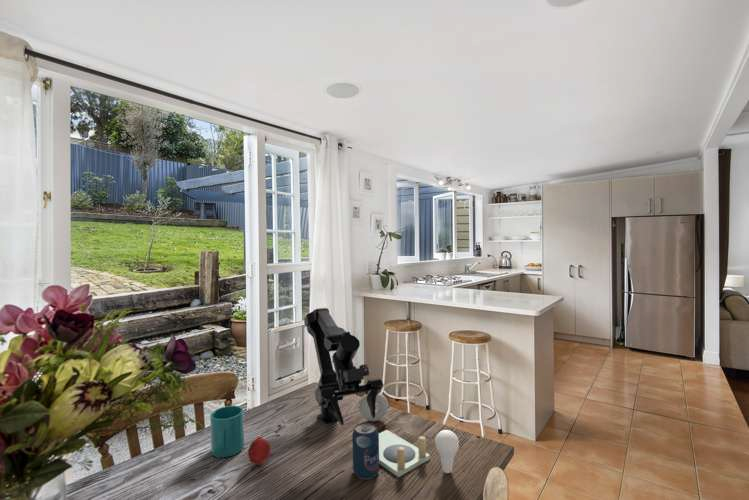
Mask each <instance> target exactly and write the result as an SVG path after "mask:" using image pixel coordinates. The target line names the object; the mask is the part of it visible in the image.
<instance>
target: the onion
mask: <svg viewBox="0 0 749 500" xmlns="http://www.w3.org/2000/svg"><path fill="white" fill-rule="evenodd" d="M247 454H248V455H247V456H248V459H249V461H250V462H251V463H252V464H255V465H259V466H261V465H263V463H265V462H266V461H267V459H268V458H269V457H270V455H271V446H270V443H269V442H268V441H267V440H266V439H265V438H263V436H262V435H259V436H257V437H256V438H255V439H254V440H253V441H252V442H251V443H250V445H249V448H248V450H247Z"/></svg>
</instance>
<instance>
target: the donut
mask: <svg viewBox="0 0 749 500" xmlns="http://www.w3.org/2000/svg"><path fill="white" fill-rule="evenodd" d="M367 396H368V395H367V394H366V393H365V394H364V395H363V396H362V397H361V398H360V401H359V404H358V410H359V411H358V412H359V413H360V415H361V417H362V418H363V419H364V420H367V421H369V422H373V423H374V422H378V421H381V420H382V419H383V418H384V417H385V416H386V415H387V413H388V411H389V402H388V400H387V398H386V396H385V395H383V393H381V392H380V393H379V394H378V395H377V396H376V402H375V404H377V405H378V407H377V408H376V409H375V418H373V417H372V415H371V412H370V409H369V406H368V402H367V399H366V398H367Z"/></svg>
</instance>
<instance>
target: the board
mask: <svg viewBox="0 0 749 500" xmlns="http://www.w3.org/2000/svg"><path fill="white" fill-rule="evenodd" d="M378 433H379V466H382V467H383V468H384V469H386V470H387V471H389V472H390V473H391V474H393V475H395V476H396V477H397V478H400V477H402V476H403V475H405V474H406V473H408V472H411V471H412V470H413V469H416V468H417V467H419V466H420V465H423V464H424V463H426V462H428V461H430V460H431V455H430V454H429V453H428V452H427V444H426V443H427V442H426V441H427V440H426V437H425V436H418V439H417V440H418V446H415V445H414V444H412V443H411V442H408V441H407V440H405V439H404V438H402V437H400V436H399V435H396V434H395V433H394V432H392V431H390V430H388V429H385V430H383V431H381V432H378Z"/></svg>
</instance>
